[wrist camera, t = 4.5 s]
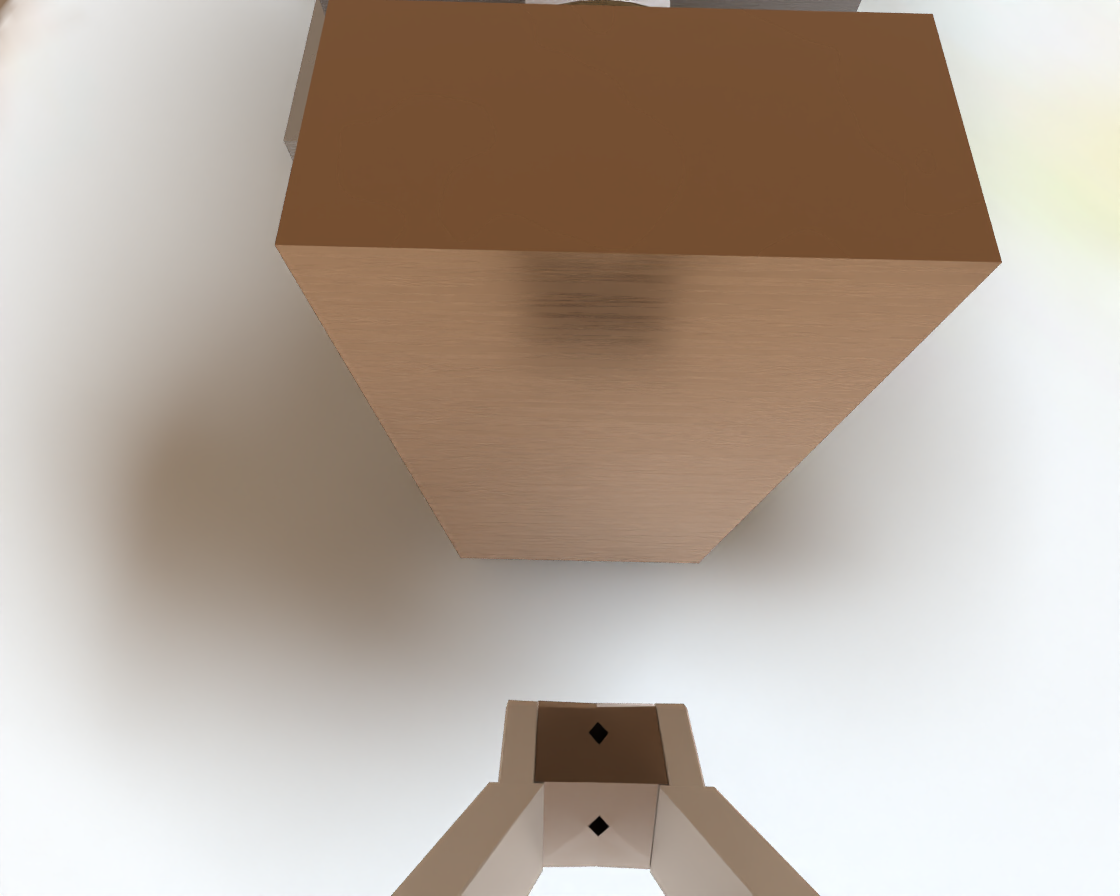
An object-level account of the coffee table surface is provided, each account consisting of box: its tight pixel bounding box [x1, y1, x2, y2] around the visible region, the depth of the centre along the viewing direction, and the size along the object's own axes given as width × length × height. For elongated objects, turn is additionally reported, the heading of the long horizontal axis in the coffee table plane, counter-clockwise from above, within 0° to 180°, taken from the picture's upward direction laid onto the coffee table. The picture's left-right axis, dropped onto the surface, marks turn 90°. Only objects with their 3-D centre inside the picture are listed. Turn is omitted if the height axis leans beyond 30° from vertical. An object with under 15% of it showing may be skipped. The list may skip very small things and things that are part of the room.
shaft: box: [275, 0, 1002, 563], centre depth 15 cm, size 21×6×12 cm, turn 179°
